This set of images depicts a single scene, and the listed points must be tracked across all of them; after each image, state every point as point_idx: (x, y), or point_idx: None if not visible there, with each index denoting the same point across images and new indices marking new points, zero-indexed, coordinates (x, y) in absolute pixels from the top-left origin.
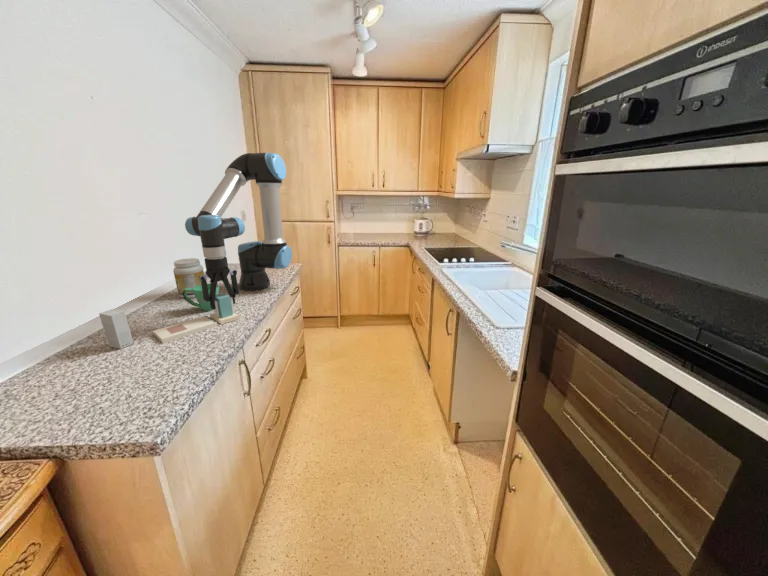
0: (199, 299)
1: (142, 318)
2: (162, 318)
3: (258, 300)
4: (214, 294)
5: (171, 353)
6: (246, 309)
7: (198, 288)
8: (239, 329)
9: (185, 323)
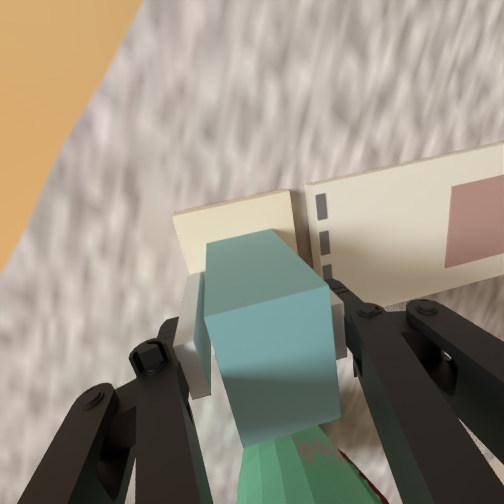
0: (347, 463)
1: None
2: None
3: (22, 433)
4: (385, 360)
5: None
6: (111, 336)
7: None
8: (209, 22)
9: (428, 270)
